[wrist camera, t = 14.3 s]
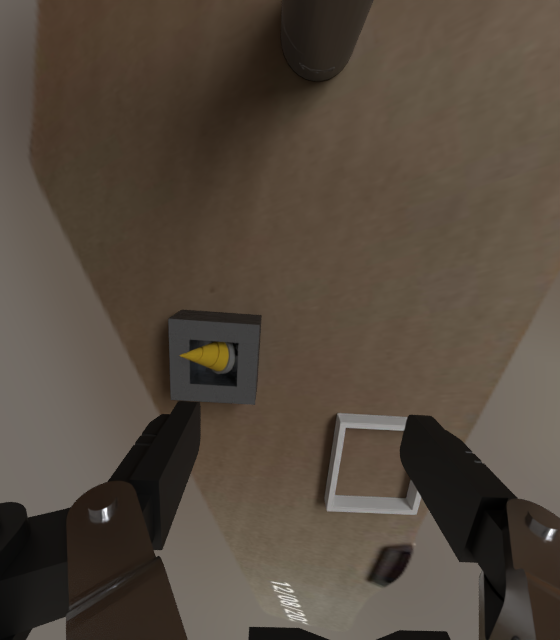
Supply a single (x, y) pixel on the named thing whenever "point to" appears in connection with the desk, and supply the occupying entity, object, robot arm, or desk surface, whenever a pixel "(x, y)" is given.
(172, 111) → the desk surface
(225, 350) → the drill bit
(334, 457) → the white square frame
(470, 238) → the desk surface
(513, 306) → the desk surface
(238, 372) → the bit holder
